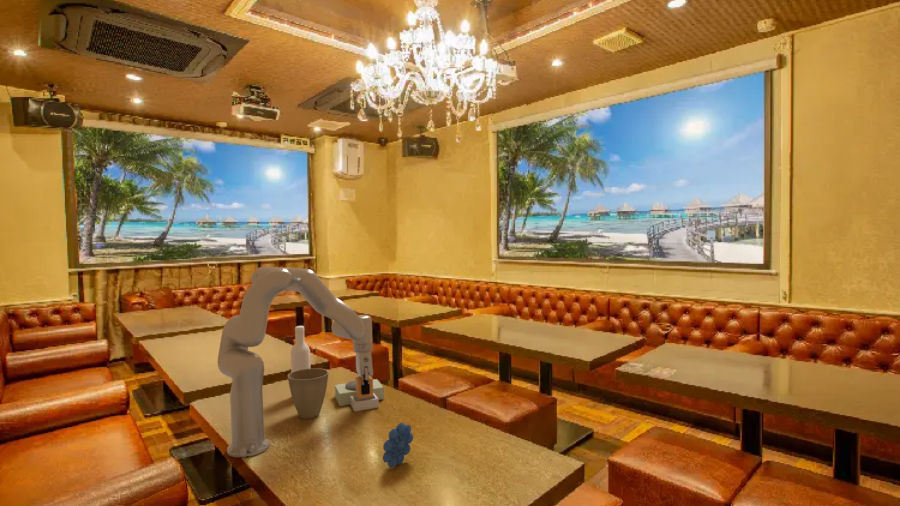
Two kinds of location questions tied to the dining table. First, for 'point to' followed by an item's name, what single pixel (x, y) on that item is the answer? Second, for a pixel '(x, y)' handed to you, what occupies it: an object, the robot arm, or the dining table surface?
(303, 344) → the bottle
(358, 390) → the orange block
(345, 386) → the green box with tray
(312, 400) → the plant pot
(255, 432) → the robot arm
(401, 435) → the grapes
